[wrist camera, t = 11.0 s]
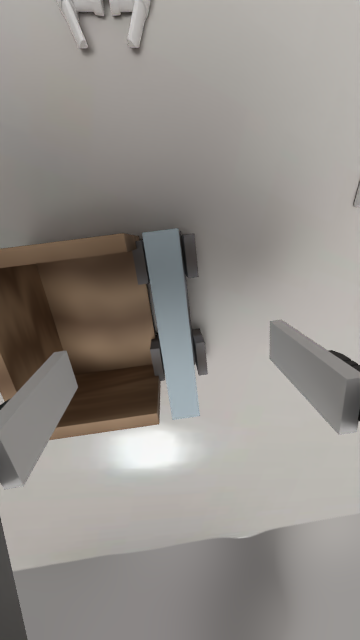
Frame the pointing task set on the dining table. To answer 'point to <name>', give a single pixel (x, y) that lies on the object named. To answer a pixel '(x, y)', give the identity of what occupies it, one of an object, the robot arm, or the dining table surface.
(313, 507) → the dining table surface
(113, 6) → the door handle
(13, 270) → the cabinet
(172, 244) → the door
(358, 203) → the milk carton
